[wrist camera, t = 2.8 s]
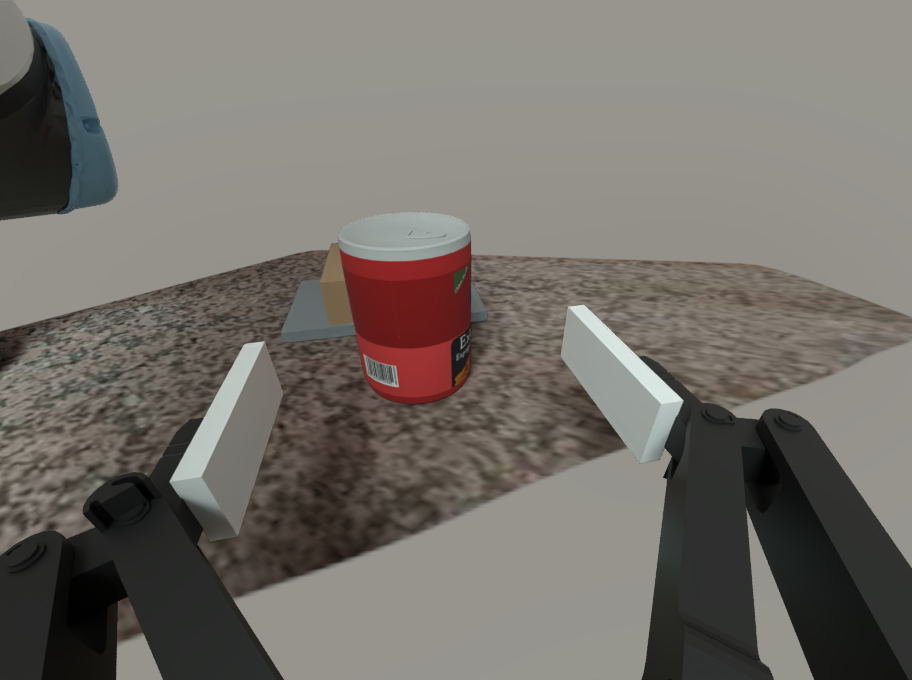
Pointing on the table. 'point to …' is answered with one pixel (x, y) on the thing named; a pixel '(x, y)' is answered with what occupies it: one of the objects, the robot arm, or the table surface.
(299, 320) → the plinth
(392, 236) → the canned food
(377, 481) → the table surface
